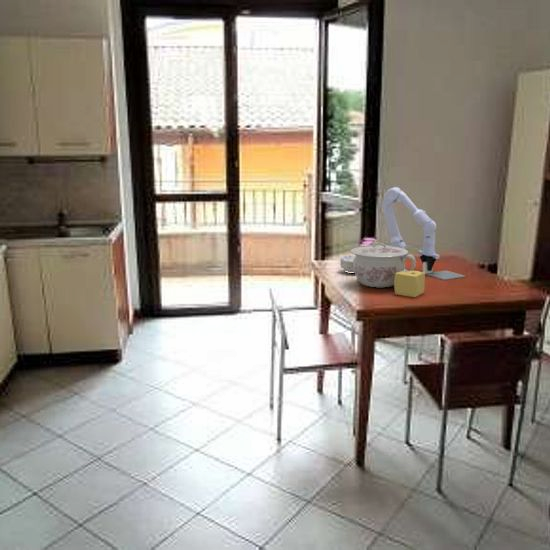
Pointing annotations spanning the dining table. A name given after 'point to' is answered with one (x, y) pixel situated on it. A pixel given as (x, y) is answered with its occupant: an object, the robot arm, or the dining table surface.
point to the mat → (445, 275)
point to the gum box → (368, 241)
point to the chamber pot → (379, 264)
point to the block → (426, 268)
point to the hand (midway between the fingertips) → (427, 269)
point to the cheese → (409, 283)
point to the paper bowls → (347, 263)
